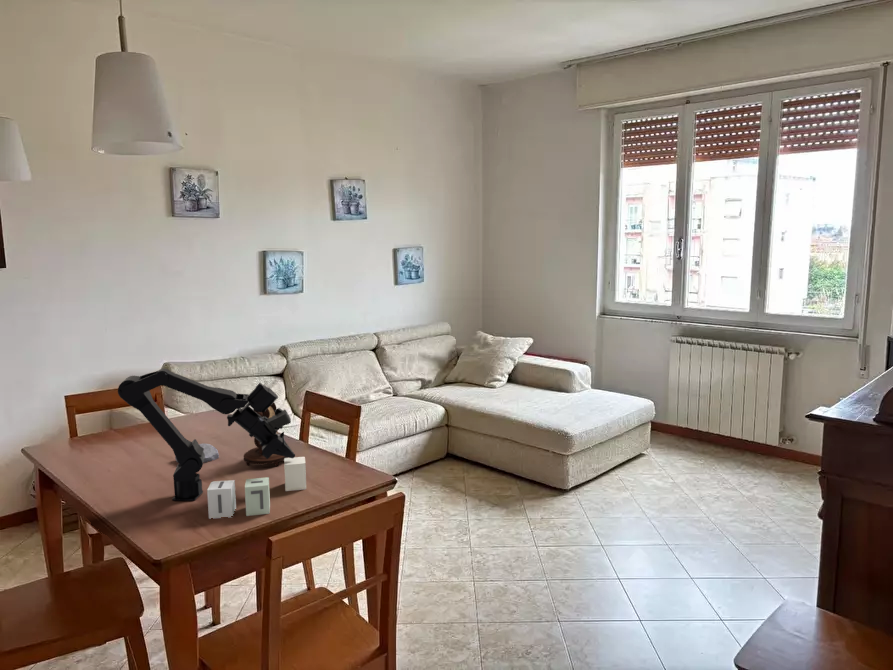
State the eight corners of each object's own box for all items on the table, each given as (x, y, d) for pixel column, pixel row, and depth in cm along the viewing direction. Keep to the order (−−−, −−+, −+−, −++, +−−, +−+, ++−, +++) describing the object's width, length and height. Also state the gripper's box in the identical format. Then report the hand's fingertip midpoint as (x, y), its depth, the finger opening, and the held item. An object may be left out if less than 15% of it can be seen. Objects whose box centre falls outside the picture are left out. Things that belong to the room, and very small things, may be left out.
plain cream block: (285, 491, 188) (284, 465, 186) (285, 483, 193) (284, 458, 192) (306, 489, 189) (305, 463, 188) (305, 481, 195) (304, 456, 194)
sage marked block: (246, 516, 171) (244, 487, 169) (247, 507, 177) (245, 478, 175) (269, 514, 172) (268, 484, 171) (270, 504, 178) (268, 476, 177)
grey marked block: (208, 519, 169) (206, 489, 168) (213, 509, 175) (211, 480, 174) (232, 517, 170) (230, 488, 169) (236, 507, 176) (234, 479, 175)
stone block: (222, 463, 217) (206, 451, 223) (222, 450, 215) (206, 439, 221) (189, 474, 208) (173, 462, 213) (189, 461, 206) (173, 449, 212)
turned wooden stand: (281, 469, 205) (279, 408, 202) (236, 468, 206) (233, 407, 203) (295, 453, 220) (293, 397, 217) (253, 453, 221) (250, 396, 218)
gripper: (272, 411, 177) (314, 446, 181) (273, 395, 195) (311, 427, 199) (244, 441, 176) (287, 475, 181) (247, 422, 194) (286, 454, 199)
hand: (294, 456), depth 190 cm, fingers closed
